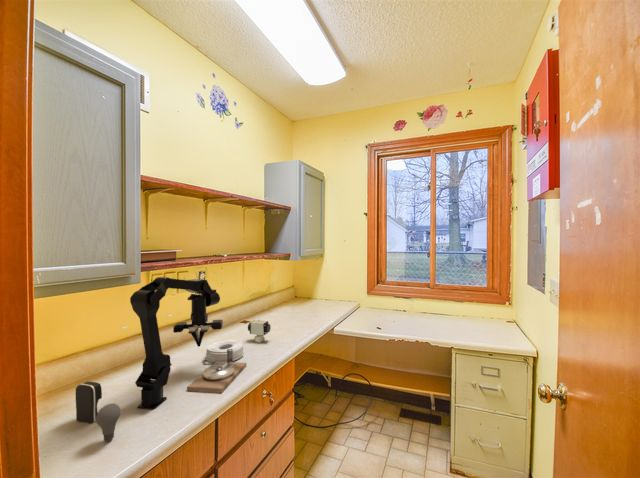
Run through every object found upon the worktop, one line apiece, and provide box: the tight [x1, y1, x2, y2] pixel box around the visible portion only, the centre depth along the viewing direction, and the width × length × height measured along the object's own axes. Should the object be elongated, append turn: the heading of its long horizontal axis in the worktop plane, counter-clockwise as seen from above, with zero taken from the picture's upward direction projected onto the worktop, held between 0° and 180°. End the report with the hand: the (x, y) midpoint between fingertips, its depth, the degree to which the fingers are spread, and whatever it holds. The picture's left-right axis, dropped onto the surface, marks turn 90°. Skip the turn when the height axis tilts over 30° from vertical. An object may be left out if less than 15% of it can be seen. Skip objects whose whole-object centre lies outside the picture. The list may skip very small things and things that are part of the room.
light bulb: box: [95, 403, 121, 442], centre depth 80 cm, size 6×6×10 cm
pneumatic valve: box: [247, 319, 272, 344], centre depth 156 cm, size 6×12×12 cm, turn 74°
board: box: [186, 361, 247, 394], centre depth 116 cm, size 22×14×2 cm, turn 171°
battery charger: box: [75, 381, 103, 424], centre depth 90 cm, size 7×4×11 cm, turn 76°
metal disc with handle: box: [202, 349, 234, 381], centre depth 117 cm, size 15×12×6 cm
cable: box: [201, 339, 245, 365], centre depth 137 cm, size 18×18×6 cm
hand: (199, 346), depth 120 cm, fingers closed
